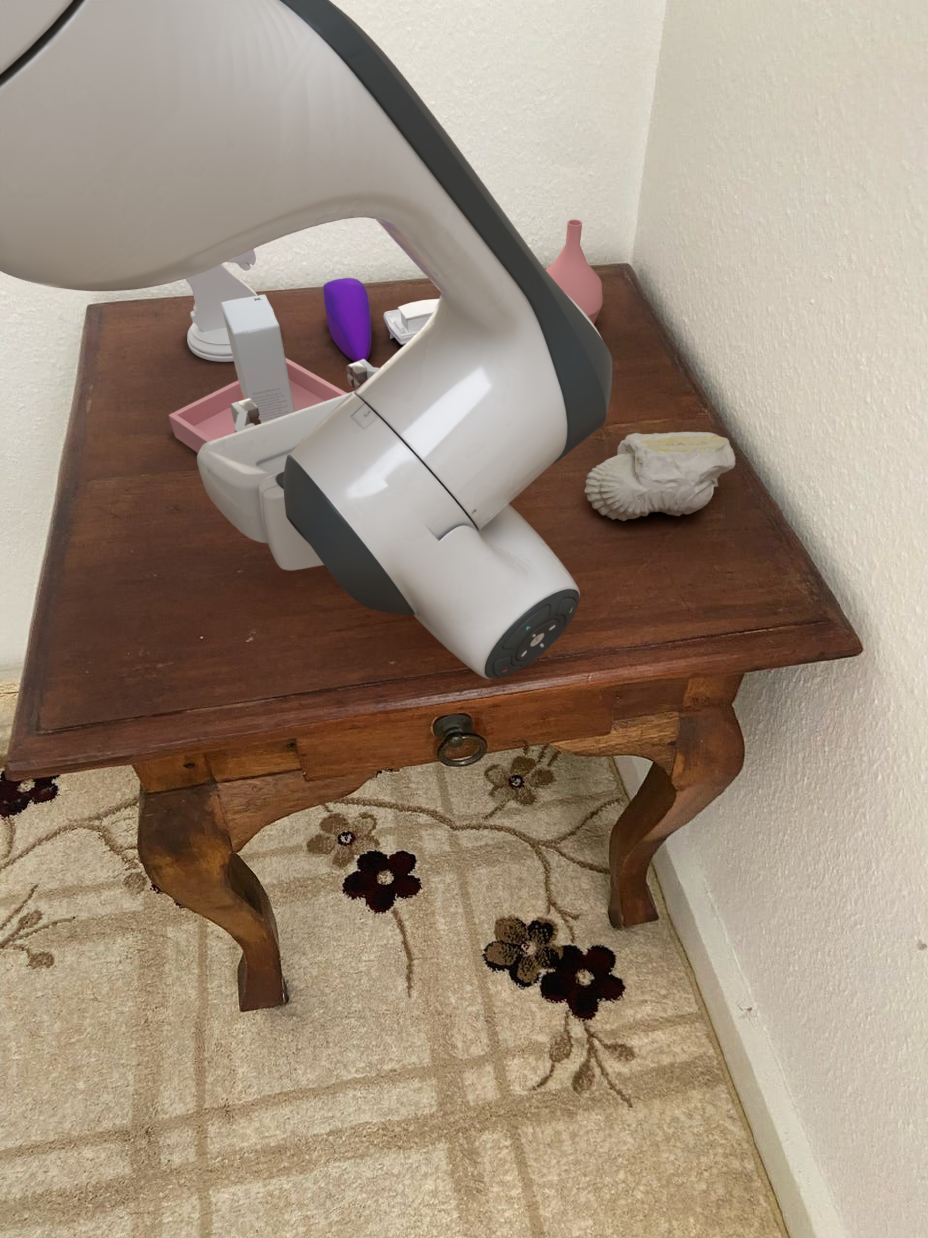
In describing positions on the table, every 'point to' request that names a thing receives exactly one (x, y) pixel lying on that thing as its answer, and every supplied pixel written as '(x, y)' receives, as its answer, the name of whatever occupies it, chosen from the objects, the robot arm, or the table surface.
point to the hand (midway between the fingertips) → (299, 388)
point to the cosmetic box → (259, 355)
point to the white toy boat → (409, 319)
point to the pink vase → (577, 273)
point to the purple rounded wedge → (349, 317)
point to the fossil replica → (659, 474)
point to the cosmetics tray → (214, 410)
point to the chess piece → (216, 308)
